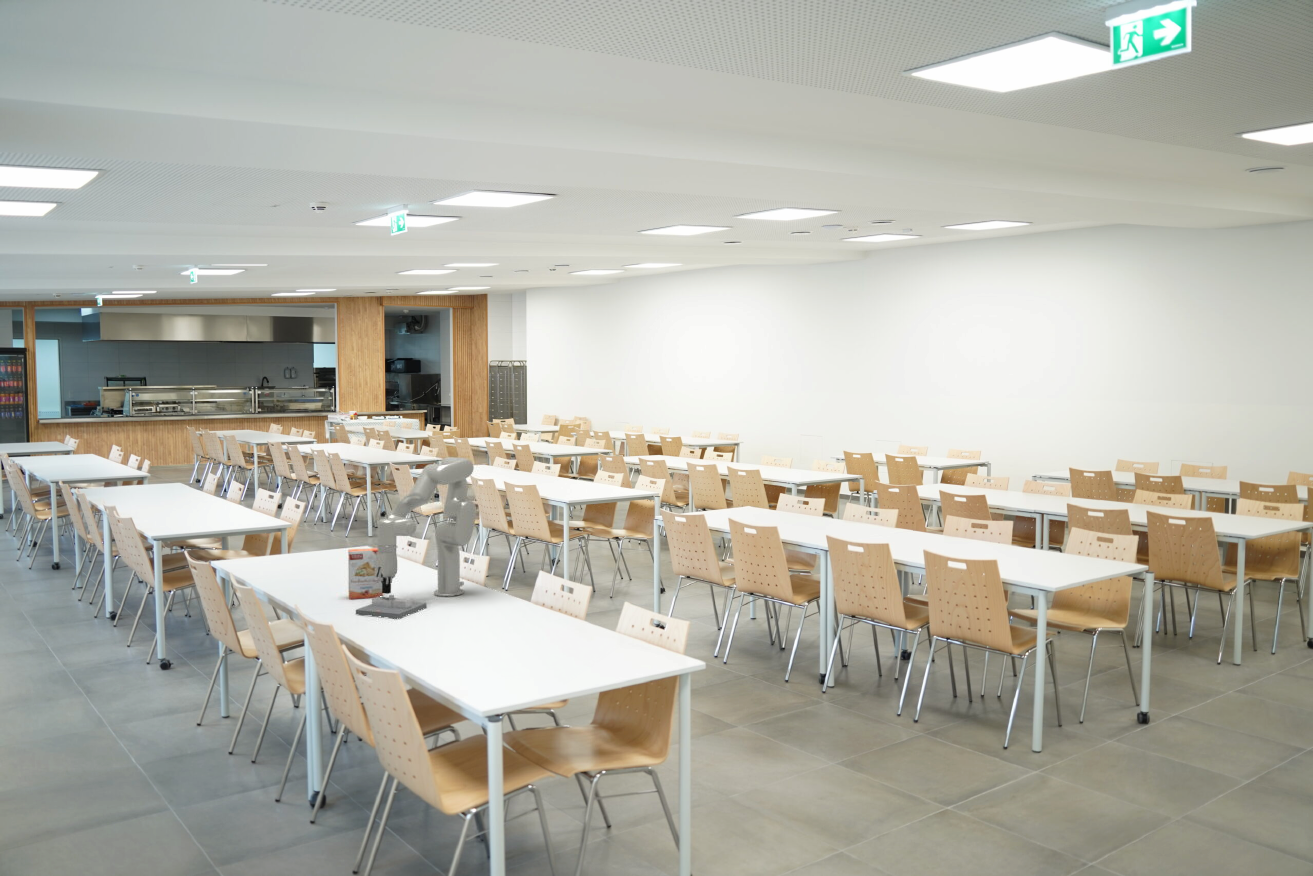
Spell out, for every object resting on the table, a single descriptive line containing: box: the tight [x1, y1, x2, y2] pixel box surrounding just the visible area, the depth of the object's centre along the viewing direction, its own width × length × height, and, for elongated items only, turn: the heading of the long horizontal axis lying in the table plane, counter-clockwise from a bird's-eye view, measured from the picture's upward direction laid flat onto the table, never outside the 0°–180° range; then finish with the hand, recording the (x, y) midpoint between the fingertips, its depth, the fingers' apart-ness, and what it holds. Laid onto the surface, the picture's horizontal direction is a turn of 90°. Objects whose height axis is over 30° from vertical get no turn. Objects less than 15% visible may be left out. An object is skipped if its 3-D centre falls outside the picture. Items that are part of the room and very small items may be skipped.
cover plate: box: [355, 594, 428, 620], centre depth 399 cm, size 20×20×6 cm
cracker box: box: [347, 547, 384, 600], centre depth 424 cm, size 14×6×21 cm, turn 112°
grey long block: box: [371, 596, 412, 609], centre depth 399 cm, size 5×16×3 cm, turn 71°
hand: (386, 593), depth 407 cm, fingers closed
